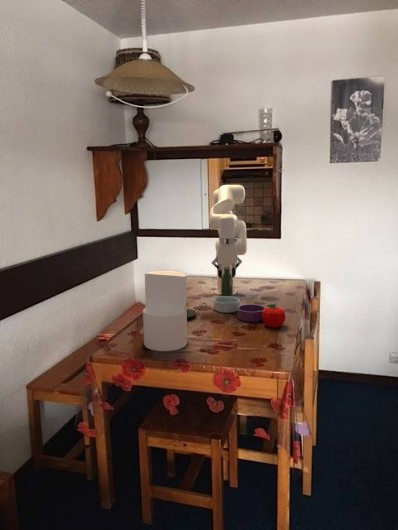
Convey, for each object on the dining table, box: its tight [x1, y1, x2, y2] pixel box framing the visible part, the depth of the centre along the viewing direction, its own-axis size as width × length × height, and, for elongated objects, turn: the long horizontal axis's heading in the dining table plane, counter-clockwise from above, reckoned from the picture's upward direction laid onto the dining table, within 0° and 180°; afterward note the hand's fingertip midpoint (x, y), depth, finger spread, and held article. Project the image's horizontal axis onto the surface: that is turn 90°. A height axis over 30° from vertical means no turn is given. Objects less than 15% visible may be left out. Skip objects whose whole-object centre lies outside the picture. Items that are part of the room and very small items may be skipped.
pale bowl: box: [213, 296, 241, 314], centre depth 229 cm, size 13×13×5 cm
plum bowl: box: [237, 303, 266, 323], centre depth 214 cm, size 13×13×5 cm
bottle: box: [220, 266, 234, 297], centre depth 227 cm, size 6×6×14 cm
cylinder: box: [142, 270, 188, 352], centre depth 181 cm, size 17×17×28 cm
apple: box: [262, 303, 287, 329], centre depth 203 cm, size 11×11×10 cm
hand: (226, 276), depth 226 cm, fingers closed on bottle, 6 cm apart
